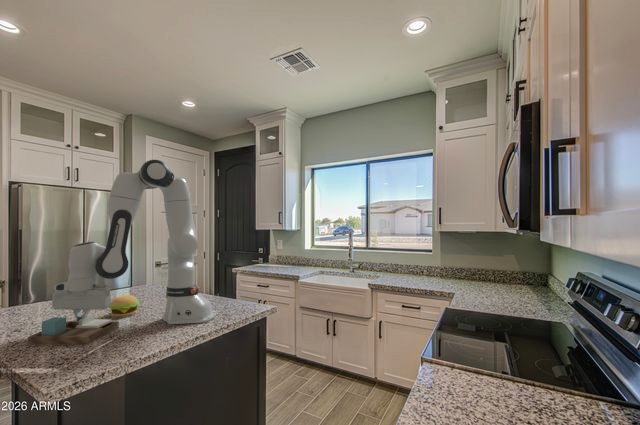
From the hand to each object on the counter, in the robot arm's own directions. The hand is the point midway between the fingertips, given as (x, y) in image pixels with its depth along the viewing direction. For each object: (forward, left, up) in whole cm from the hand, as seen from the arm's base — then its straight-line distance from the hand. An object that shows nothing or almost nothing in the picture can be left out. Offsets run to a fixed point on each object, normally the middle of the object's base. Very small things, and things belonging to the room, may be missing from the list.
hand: (81, 320), depth 111 cm
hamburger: (0, -24, -5) cm, 25 cm away
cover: (-5, 0, -1) cm, 5 cm away
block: (+4, +8, -4) cm, 9 cm away
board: (-1, +4, -5) cm, 6 cm away
